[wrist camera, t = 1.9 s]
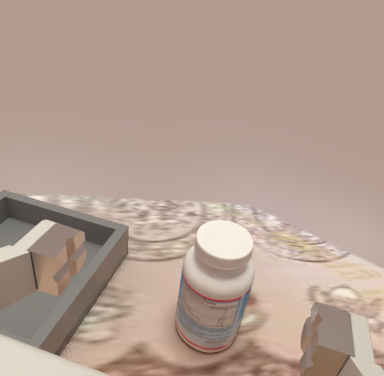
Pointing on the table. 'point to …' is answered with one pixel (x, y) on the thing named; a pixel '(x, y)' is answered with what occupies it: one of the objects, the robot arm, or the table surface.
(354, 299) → the table surface
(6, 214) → the tray
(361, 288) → the table surface
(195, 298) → the pill bottle
